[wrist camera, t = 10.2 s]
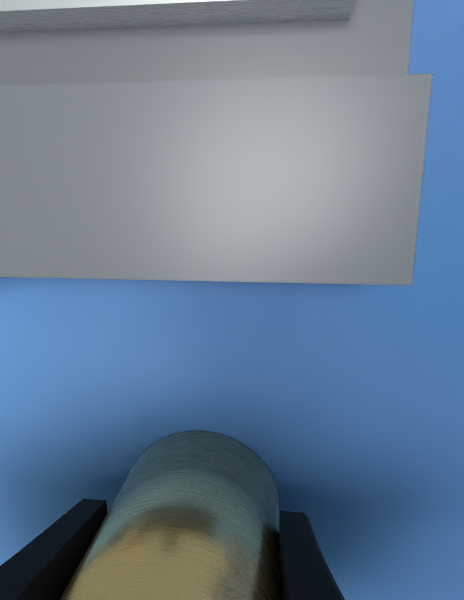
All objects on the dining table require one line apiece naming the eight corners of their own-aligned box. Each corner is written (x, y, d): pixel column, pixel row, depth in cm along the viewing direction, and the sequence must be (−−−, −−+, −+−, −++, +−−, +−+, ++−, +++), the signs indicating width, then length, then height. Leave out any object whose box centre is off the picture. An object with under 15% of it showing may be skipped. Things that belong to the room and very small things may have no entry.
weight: (312, 508, 11) (340, 728, 7) (203, 590, 12) (157, 834, 8) (200, 400, 11) (143, 547, 6) (97, 492, 12) (-22, 682, 7)
